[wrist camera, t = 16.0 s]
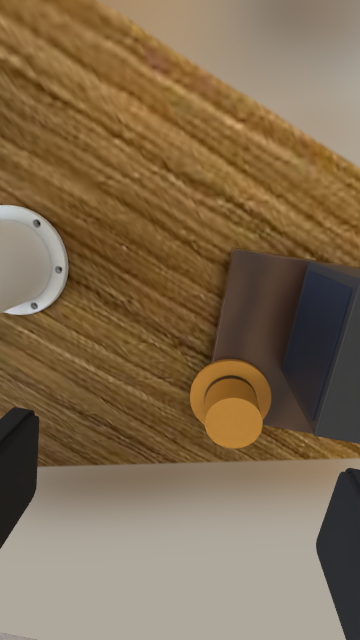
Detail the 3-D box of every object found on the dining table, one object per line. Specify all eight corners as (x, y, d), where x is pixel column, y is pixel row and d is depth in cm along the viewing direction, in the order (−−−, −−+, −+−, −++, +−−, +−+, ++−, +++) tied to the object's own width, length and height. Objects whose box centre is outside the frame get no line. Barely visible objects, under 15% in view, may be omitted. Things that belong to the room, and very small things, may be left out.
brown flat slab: (202, 397, 43) (202, 414, 39) (231, 246, 38) (233, 248, 34) (321, 418, 42) (332, 437, 39) (366, 267, 37) (384, 272, 33)
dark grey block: (279, 370, 37) (311, 435, 25) (307, 260, 34) (358, 278, 22) (335, 379, 37) (394, 450, 25) (369, 270, 33) (454, 293, 22)
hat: (184, 423, 40) (181, 454, 34) (197, 352, 37) (195, 374, 32) (260, 436, 39) (269, 470, 34) (278, 366, 37) (290, 390, 31)
